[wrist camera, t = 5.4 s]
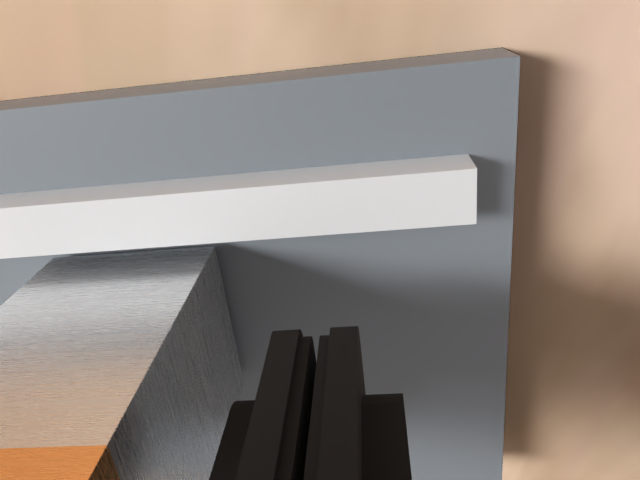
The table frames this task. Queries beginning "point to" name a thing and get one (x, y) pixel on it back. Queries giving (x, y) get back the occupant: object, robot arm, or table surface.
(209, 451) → the block
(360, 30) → the table surface
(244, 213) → the divider plate
